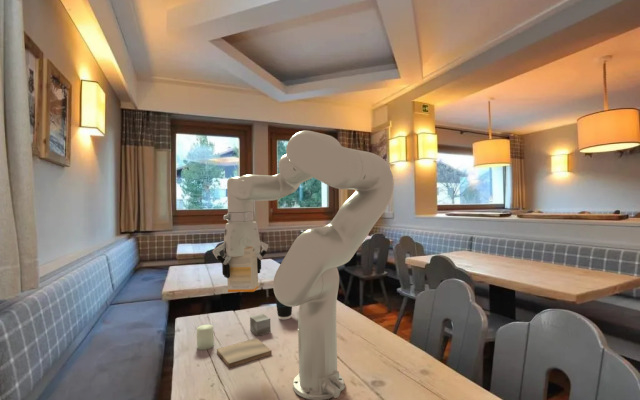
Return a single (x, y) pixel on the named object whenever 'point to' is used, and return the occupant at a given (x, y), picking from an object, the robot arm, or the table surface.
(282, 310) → the dixie cup
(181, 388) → the table surface
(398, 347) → the table surface
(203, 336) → the sage capsule
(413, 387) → the table surface
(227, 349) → the tan board
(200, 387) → the table surface
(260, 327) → the gray block
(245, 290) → the supplement box
